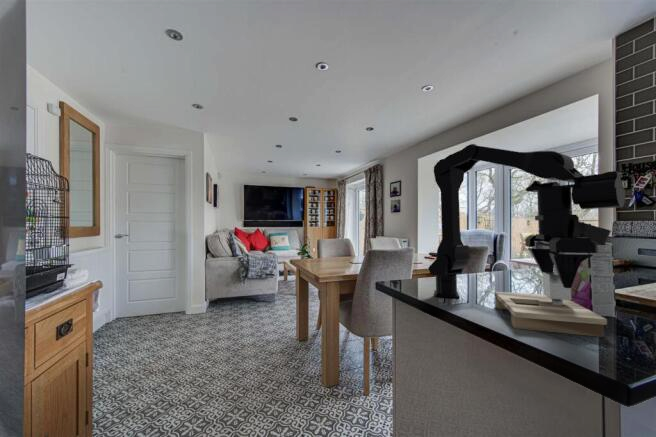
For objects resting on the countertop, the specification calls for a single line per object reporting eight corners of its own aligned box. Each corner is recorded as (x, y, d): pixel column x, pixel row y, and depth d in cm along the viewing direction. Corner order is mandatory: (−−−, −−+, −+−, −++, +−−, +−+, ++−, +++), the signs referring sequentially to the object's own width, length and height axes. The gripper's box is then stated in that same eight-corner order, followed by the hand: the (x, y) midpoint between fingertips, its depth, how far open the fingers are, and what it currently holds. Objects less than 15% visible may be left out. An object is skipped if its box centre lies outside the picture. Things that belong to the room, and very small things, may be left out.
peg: (542, 316, 62) (541, 271, 62) (564, 318, 60) (563, 272, 61) (550, 322, 58) (548, 274, 58) (574, 324, 57) (572, 275, 57)
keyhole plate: (494, 305, 71) (494, 291, 71) (561, 310, 66) (561, 295, 66) (515, 330, 54) (515, 311, 54) (607, 339, 49) (606, 319, 50)
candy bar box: (559, 303, 72) (557, 240, 73) (582, 304, 71) (579, 240, 72) (591, 317, 61) (588, 242, 62) (618, 318, 60) (614, 242, 61)
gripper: (633, 206, 48) (638, 296, 48) (578, 211, 66) (581, 277, 65) (555, 208, 52) (559, 292, 52) (523, 213, 70) (525, 275, 69)
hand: (557, 283), depth 59 cm, fingers open, 9 cm apart
